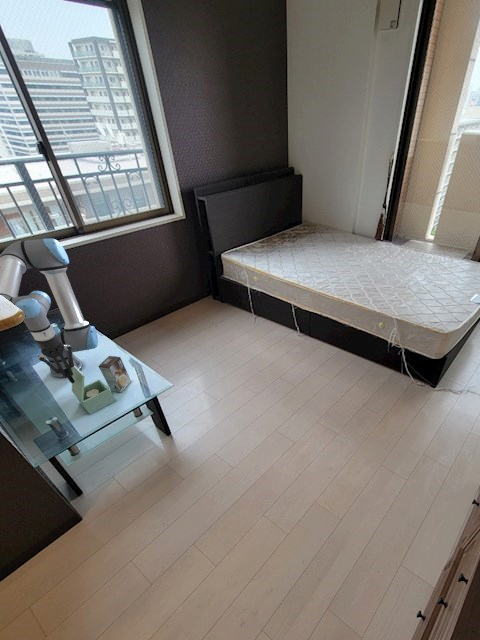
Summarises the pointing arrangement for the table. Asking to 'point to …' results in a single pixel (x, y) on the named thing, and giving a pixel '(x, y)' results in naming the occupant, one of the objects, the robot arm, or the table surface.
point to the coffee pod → (92, 393)
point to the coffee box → (115, 373)
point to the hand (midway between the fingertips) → (72, 381)
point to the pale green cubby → (97, 397)
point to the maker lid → (78, 383)
